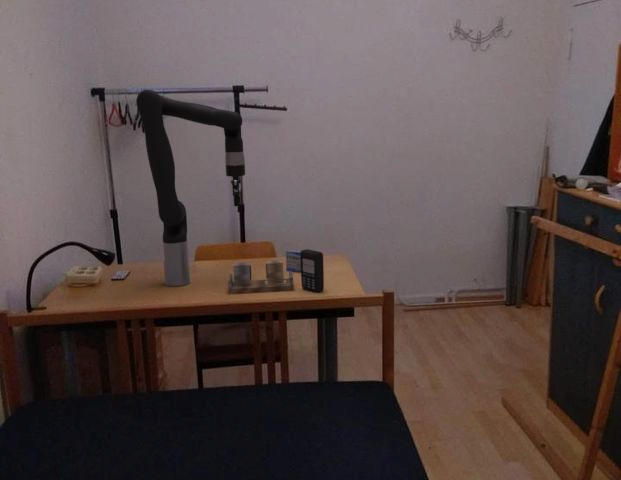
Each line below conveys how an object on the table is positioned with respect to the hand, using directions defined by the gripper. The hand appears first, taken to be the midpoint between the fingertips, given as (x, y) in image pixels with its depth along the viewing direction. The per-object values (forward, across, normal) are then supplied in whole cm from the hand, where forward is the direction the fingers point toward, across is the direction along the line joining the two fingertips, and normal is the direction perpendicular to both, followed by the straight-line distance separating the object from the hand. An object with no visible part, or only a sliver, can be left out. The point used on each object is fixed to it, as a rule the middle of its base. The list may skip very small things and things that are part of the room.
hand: (237, 204), depth 235 cm
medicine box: (+30, -6, +23) cm, 39 cm away
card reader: (+30, +23, +27) cm, 47 cm away
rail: (+30, +18, +8) cm, 36 cm away
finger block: (+28, +18, +14) cm, 36 cm away
